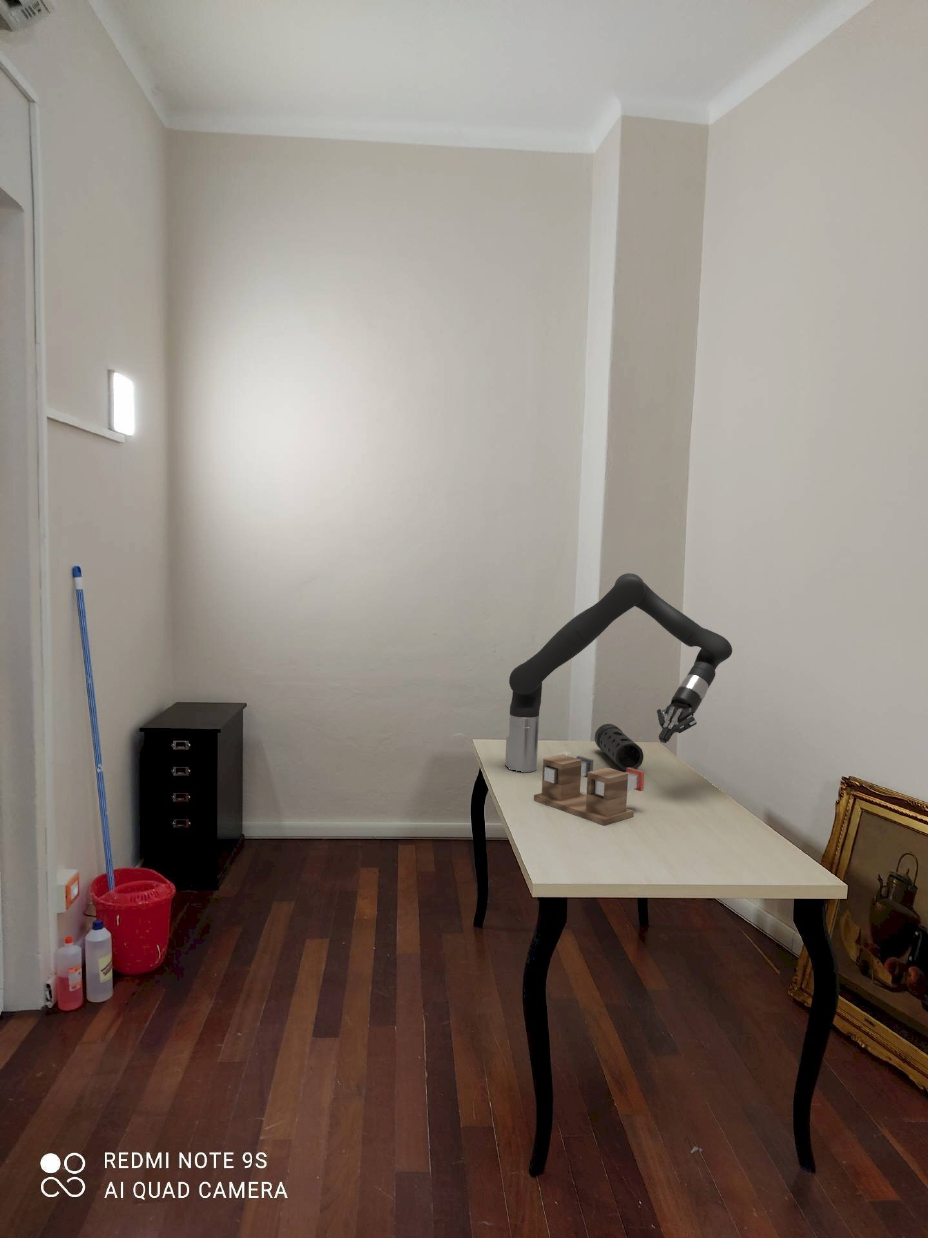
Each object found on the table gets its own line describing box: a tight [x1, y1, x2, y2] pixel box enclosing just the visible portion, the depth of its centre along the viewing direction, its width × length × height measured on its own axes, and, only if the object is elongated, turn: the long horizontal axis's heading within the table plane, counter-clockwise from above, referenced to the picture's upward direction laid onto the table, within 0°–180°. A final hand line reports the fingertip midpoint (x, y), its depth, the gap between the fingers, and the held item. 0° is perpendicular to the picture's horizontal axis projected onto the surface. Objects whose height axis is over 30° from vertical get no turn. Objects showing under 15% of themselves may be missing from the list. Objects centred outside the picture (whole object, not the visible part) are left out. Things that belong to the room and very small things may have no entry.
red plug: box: [595, 768, 646, 796], centre depth 225 cm, size 5×15×5 cm, turn 131°
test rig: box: [533, 754, 635, 826], centre depth 228 cm, size 25×12×12 cm, turn 41°
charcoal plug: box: [544, 755, 594, 783], centre depth 236 cm, size 5×15×5 cm, turn 131°
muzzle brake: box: [594, 723, 644, 772], centre depth 277 cm, size 10×28×10 cm, turn 5°
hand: (662, 741), depth 238 cm, fingers closed
